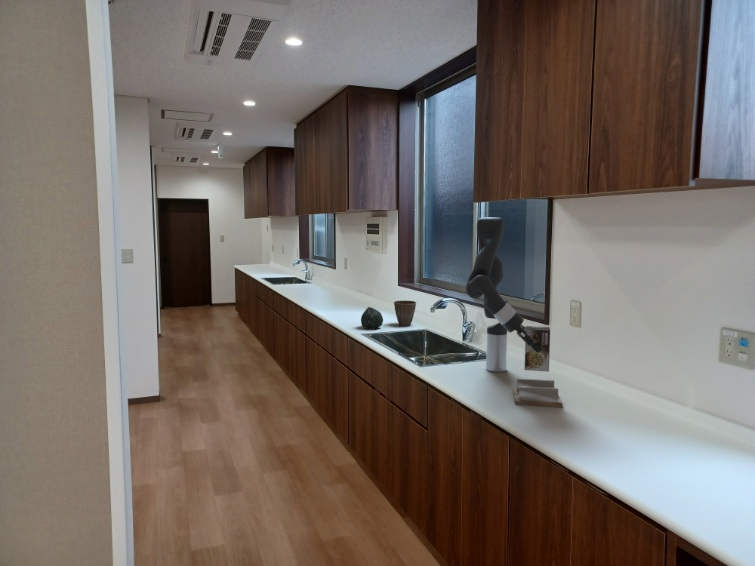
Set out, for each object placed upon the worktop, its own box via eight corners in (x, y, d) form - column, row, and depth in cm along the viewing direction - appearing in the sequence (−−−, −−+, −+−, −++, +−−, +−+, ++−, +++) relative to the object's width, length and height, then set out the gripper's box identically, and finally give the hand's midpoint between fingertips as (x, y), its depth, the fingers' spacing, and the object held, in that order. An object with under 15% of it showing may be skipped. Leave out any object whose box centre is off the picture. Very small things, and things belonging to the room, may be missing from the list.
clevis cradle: (512, 392, 210) (513, 377, 209) (556, 395, 207) (557, 379, 206) (515, 404, 196) (515, 387, 196) (562, 407, 193) (563, 390, 192)
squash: (387, 318, 349) (372, 301, 348) (386, 323, 334) (370, 305, 333) (372, 331, 351) (357, 315, 350) (369, 337, 336) (354, 320, 336)
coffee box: (548, 367, 202) (550, 326, 200) (549, 372, 196) (551, 330, 194) (524, 365, 205) (525, 325, 203) (524, 370, 198) (525, 328, 197)
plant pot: (419, 326, 347) (419, 303, 345) (398, 328, 342) (398, 304, 341) (411, 322, 361) (411, 300, 359) (390, 324, 356) (390, 301, 355)
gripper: (516, 314, 192) (548, 346, 191) (514, 307, 206) (544, 338, 205) (501, 327, 194) (533, 360, 193) (500, 320, 208) (529, 350, 207)
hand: (538, 348), depth 199 cm, fingers closed on coffee box, 6 cm apart
